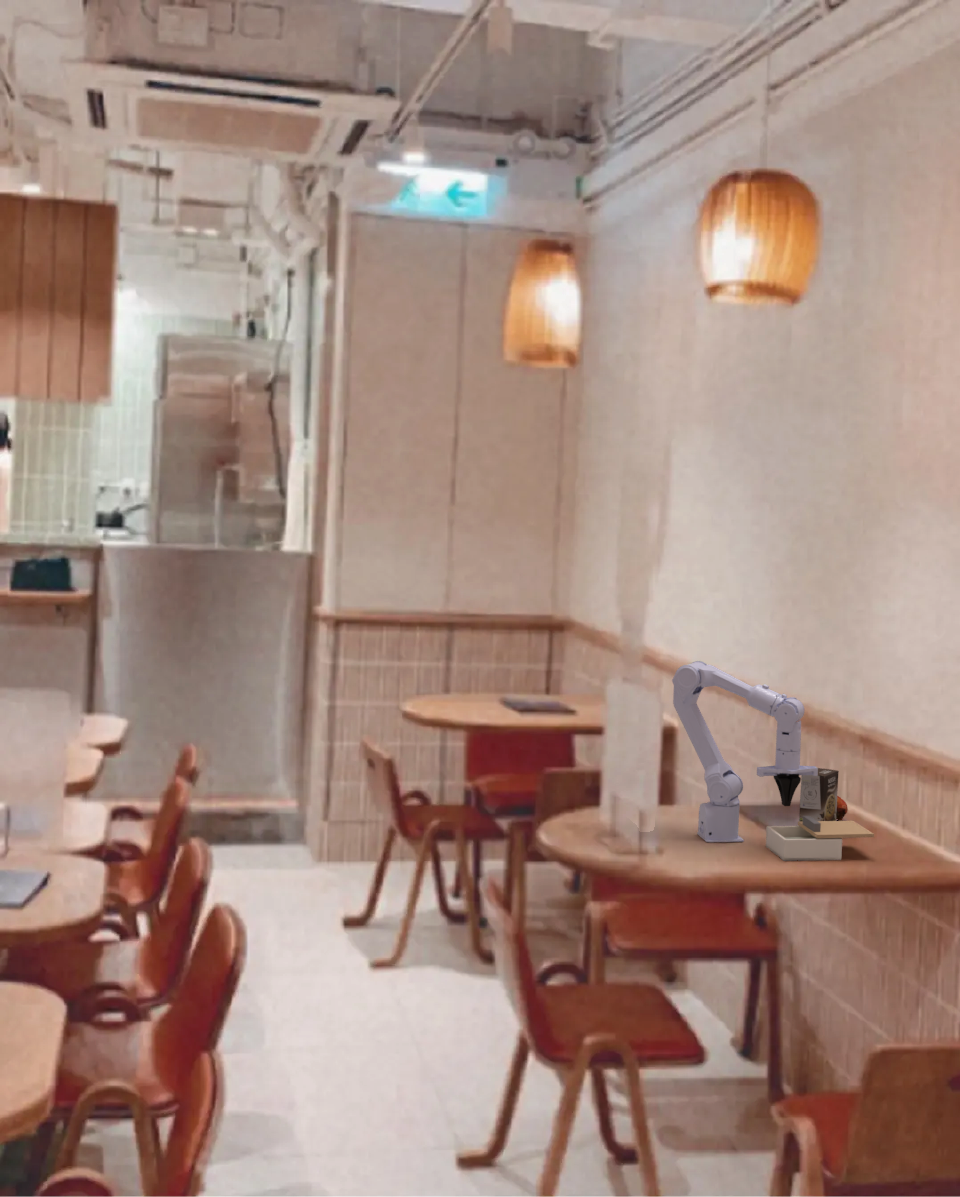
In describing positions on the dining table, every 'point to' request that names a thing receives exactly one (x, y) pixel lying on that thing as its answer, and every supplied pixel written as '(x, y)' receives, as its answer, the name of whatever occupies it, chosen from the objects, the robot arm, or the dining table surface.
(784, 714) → the robot arm
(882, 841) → the dining table surface
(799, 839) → the mailer base
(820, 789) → the coffee box
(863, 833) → the mailer lid
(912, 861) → the dining table surface
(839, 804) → the pomegranate
